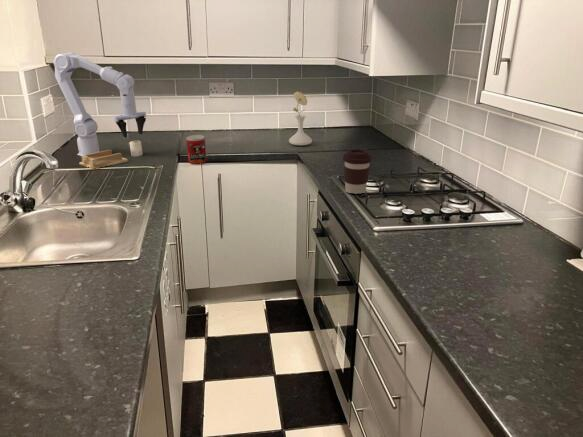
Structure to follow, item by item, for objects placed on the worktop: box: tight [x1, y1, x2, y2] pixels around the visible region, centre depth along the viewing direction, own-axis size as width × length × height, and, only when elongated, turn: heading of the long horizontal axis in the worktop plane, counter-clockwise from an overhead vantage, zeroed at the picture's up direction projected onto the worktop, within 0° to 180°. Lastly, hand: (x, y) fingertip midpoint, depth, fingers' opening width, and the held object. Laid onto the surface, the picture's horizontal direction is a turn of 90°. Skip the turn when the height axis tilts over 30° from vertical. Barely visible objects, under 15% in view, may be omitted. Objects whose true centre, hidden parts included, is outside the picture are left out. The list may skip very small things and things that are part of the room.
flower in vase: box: [288, 91, 313, 146], centre depth 225 cm, size 13×11×25 cm
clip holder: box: [79, 149, 129, 171], centre depth 202 cm, size 12×16×4 cm
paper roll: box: [128, 140, 143, 157], centre depth 212 cm, size 5×5×6 cm
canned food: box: [186, 134, 207, 166], centre depth 201 cm, size 8×8×11 cm
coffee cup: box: [342, 148, 373, 194], centre depth 166 cm, size 10×10×15 cm
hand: (132, 135), depth 208 cm, fingers open, 7 cm apart
